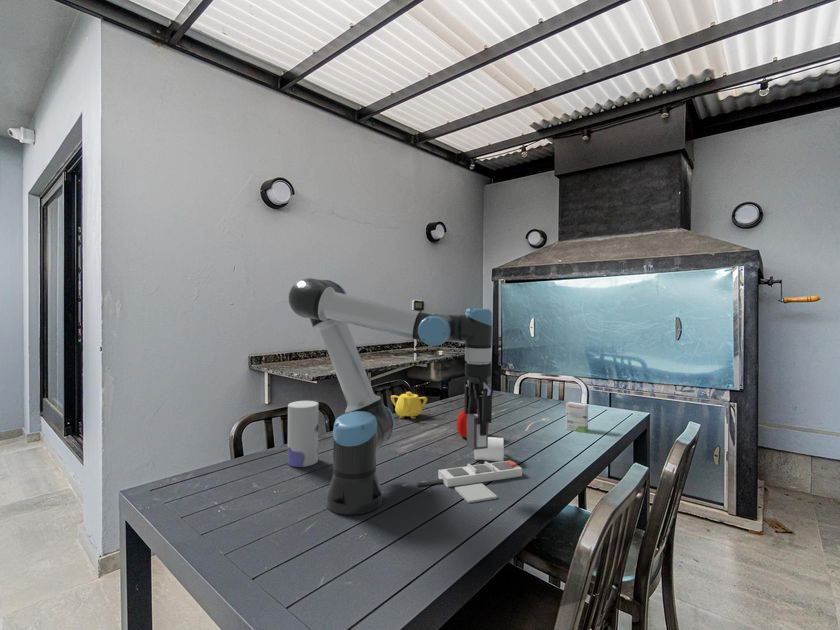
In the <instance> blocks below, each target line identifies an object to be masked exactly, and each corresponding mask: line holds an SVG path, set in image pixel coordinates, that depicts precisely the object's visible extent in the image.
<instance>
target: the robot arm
mask: <svg viewBox="0 0 840 630" xmlns="http://www.w3.org/2000/svg"><path fill="white" fill-rule="evenodd" d="M288 303H289V306H290V308H291V310H292V311H293V312H294V314H296V315H297V316H299V317H302V318H304V319H309V320H310V323H311V325H312V328H313V329H314V330H316V331H318V332H320V335H321V338H322V339H323V343H324V346H325V348H326V351H327V353H328V356H329V359H330V361H331V364H332V366H333V369H334V373H335V375H336V377H337V380H338V382H339V385H340V387H341V390H342V391H341V392H343V393H342V394H343V396H344V398H345V401H346V405H347V407H346V409H345V411H344V412H345V413H343V414H342V415H340V416H338V417H337V418H336V419H335V421H334V422H333V429H332V430H333V431H332V441H333V442H332V451H333V452H332V453H333V454H332V466H333V467H332V477H331V479H330V483H329V486H328V489H327V492H326V495H325V504H326V508H327V509H328V510H330V512H331V511H332V512H333V513H335V514H339V515H345V516H357V515H362V514H367V513H370V512H373V511H375V510H376V509H378V508H379V507H380V506H381V505H382V502H383V490H382V488H381V484H380V482H379V481H380V480H379V477H378V475H377V451H378V450H379V449H380V448H381V447H382V446H383V445H384V444H385V443H386V442H387V441H388V440H389V439H390V438H391V436H392V433H393V432H394V429H395V417H394V414H393V413H392V411H391V410H390V409H389V407H388V406H385V404H384V403H383V399H382V397H381V396H379V395H377V394H375V392H374V390H373V388H372V384H371V382H370V380H369V377H368V375H367V372H366V370H365V367H364V363H363V362H362V359H361V357H360V353H359V351H358V348H357V346H356V343H355V340H354V337H353V335H352V332H351V330H350V327H349V324H350V325H353V326H354V325H355V326H358V327H363V328H366V329H370V330H374V331H379V332H383V333H387V334H391V335H395V336H400V337H403V338H407V339H412V340H415V341H420V342H422V343H424V344H425V345H427V346H430V347H431V346H432V347H436V346H437V347H438V346H441V345H442V344H443V345H444V344H445V342H464V343H465V345H464V361H465V364H464V375H465V377H468V380H464V381H463V387H464V409H463V410H464V412H465V414H474V413H477V412H478V422H476V424H477V440H476V446H477V447H483V446H486V428H487V424H488V425H489V424H492V420H493V419H492V416H493V415H492V412H493V394H494V388H492V387H489V386H488V385H489V384H488V378H490V377H491V376H492V364H491V362H492V353H493V351H492V347H493V346H492V342H493V341H492V340H493V339H492V338H493V315H492V311H491V310H490V309H489V308H466V310H465V313H464V314H459V315H458V314H438V313H437V314H435V313H434V314H432V313H427V312H422V311H418V310H414V309H409V308H406V307H401V306H397V305H393V304H388V303H384V302H380V301H375V300H372V299H367V298H363V297H359V296H354V295H349V294H347V292H346V291H345V289H344V288H343V287H342V286H341V285H340V284H338V283H337V282H335V281H332V280H328V279H317V278H310V277H309V278H303V279H300V280H298V281H297V282H295V283H294V284H293V285H292V286H291V288H290V290H289V292H288Z"/></svg>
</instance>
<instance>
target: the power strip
mask: <svg viewBox="0 0 840 630" xmlns="http://www.w3.org/2000/svg"><path fill="white" fill-rule="evenodd" d="M517 464H518V463H516V462H515V461H513V460H503V462H497V461H495V462H489V461H486V460H484V463H482V464H480V463H479V464H474V465H471V464H470V463H467V464H466V466H459V467H449V468H443V469H438V471H437V472H438V474H437V476H438V479H432V480H424V481H423V480H422V481H418V482H416V486H417V487H420V486H425V485H426V486H427V485H434V484H440V483H443V484H444V486H446V488H450V487H460V486H467V485H473V484H480V483H485V482H492V481H497V480H505V479H512V478H518V477H523V468H522V467H521V466H520V465H517Z"/></svg>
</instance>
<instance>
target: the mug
mask: <svg viewBox="0 0 840 630" xmlns="http://www.w3.org/2000/svg"><path fill="white" fill-rule="evenodd" d="M504 447H505V439H504V437H495V436H494V437H493V436H488V448H485V449H477V450H473V453H474V454H473V458H474V460H475V461H487V462H503V461H505V460H504V453H505V451H504V449H505V448H504Z"/></svg>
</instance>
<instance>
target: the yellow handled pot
mask: <svg viewBox="0 0 840 630" xmlns="http://www.w3.org/2000/svg"><path fill="white" fill-rule="evenodd" d="M395 398H397V401H396V400H395ZM421 400H423V402H422V401H421ZM390 401H391V403H392V405H394V407H395V408H394V411H395V413H396V415H398V418H400V419H404V418H405V417H410V419H412V420H415V419H417V416H419V415H420V414H421V413H422V411H423V407H424V406H425V405H426V404H427V401H428V398H427V397H426V396H421V397H419V394H415V393H413V392H411V391H407V392H405V393H401V394H400V395H399V396H398V395H394V394H393V395H391V396H390Z"/></svg>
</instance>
